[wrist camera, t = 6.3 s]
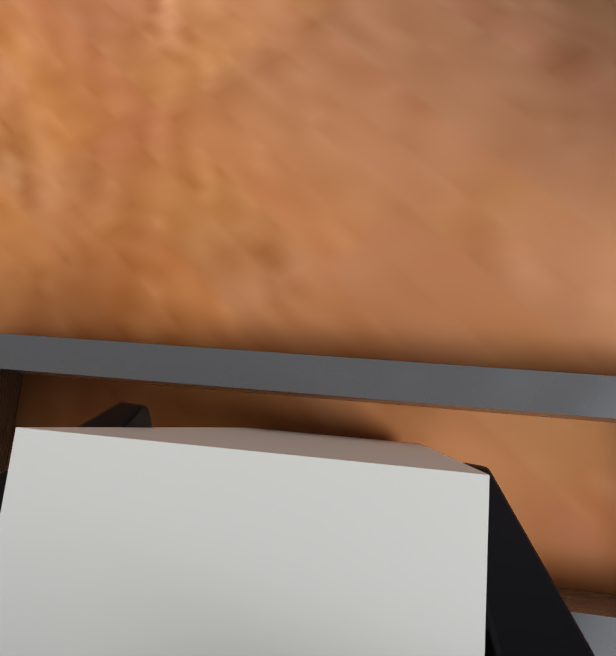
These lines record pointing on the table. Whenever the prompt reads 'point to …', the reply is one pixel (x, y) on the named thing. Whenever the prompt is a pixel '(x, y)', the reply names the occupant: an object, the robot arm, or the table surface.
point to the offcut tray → (328, 383)
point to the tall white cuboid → (239, 545)
